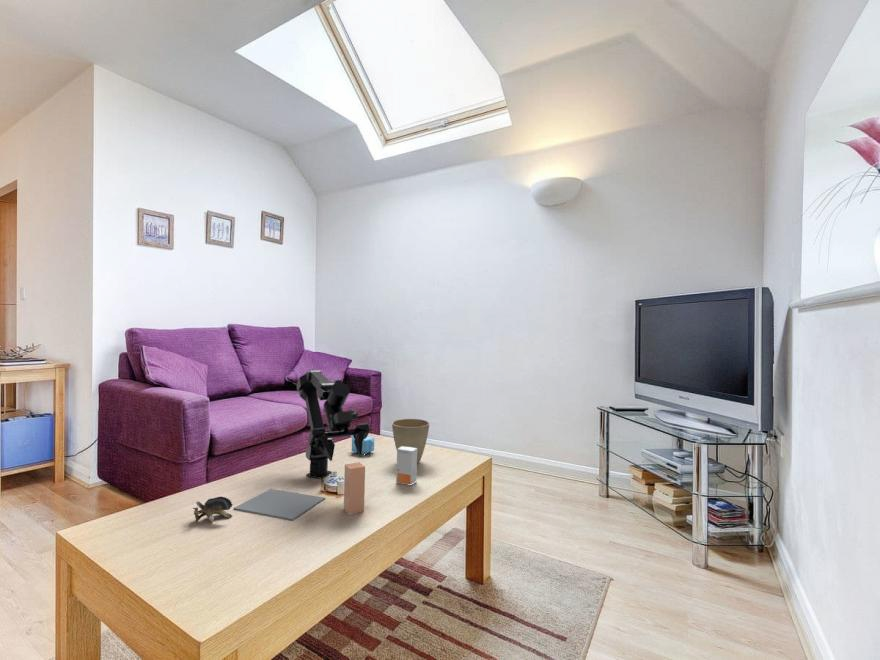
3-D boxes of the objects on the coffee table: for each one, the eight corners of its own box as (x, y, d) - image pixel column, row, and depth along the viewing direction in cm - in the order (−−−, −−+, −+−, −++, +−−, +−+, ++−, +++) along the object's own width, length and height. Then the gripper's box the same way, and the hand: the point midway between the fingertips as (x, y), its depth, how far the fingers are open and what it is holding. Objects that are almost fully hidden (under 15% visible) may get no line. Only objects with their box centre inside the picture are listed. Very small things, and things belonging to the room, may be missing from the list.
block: (343, 508, 127) (344, 464, 127) (358, 505, 129) (359, 462, 129) (349, 514, 123) (350, 468, 123) (363, 511, 125) (365, 466, 125)
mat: (270, 489, 140) (270, 488, 140) (325, 498, 134) (325, 497, 134) (233, 509, 124) (233, 507, 124) (292, 520, 118) (292, 519, 118)
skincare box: (395, 483, 148) (396, 448, 148) (401, 479, 152) (402, 445, 152) (411, 486, 146) (412, 451, 146) (416, 482, 150) (417, 447, 150)
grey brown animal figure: (197, 526, 111) (235, 512, 116) (191, 499, 113) (228, 486, 118) (197, 532, 117) (233, 518, 122) (191, 506, 119) (227, 493, 124)
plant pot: (393, 456, 179) (394, 418, 179) (429, 457, 179) (430, 419, 178) (388, 468, 164) (389, 426, 164) (427, 469, 164) (428, 427, 164)
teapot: (345, 452, 183) (345, 434, 183) (353, 449, 189) (354, 431, 189) (368, 456, 178) (369, 438, 178) (377, 453, 183) (377, 435, 183)
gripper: (311, 402, 131) (322, 448, 122) (369, 398, 141) (382, 440, 132) (304, 423, 138) (313, 467, 129) (359, 418, 148) (371, 459, 139)
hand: (346, 458), depth 132 cm, fingers open, 9 cm apart
